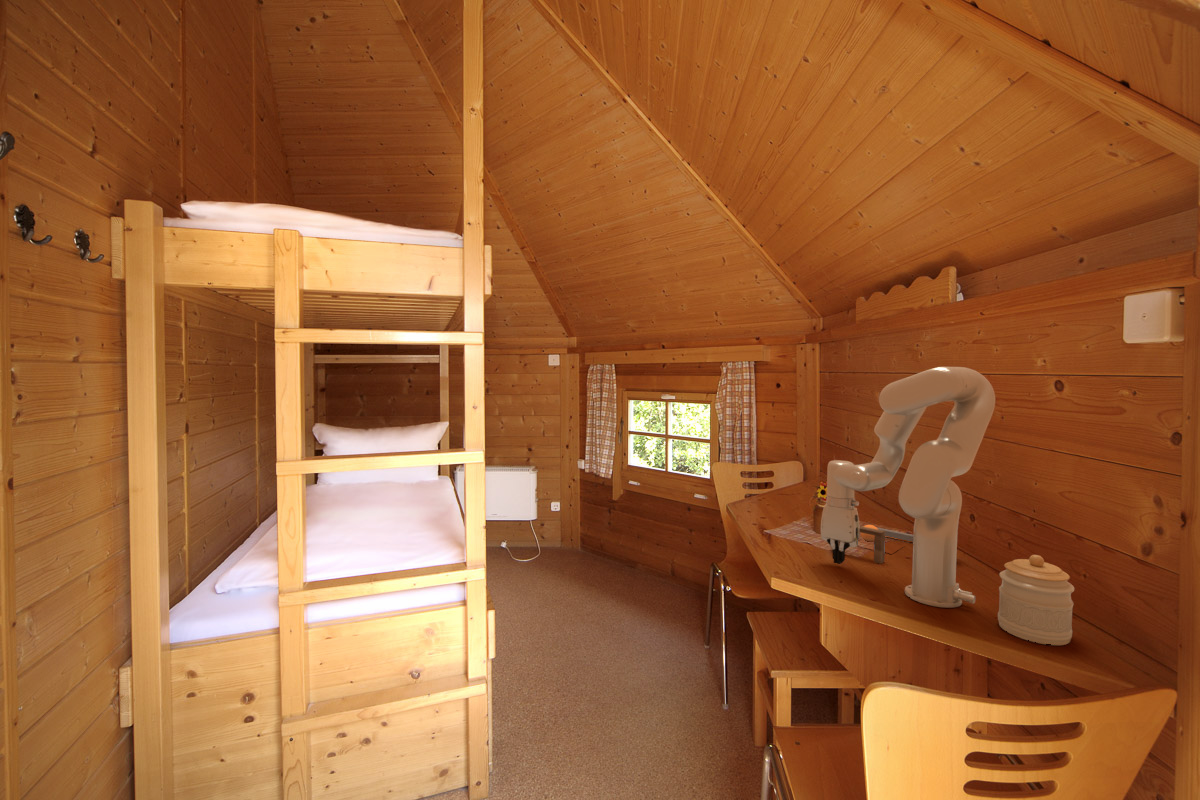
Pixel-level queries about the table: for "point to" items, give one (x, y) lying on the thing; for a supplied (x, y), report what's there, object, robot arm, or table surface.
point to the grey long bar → (897, 534)
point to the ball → (867, 536)
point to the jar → (1036, 601)
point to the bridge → (876, 543)
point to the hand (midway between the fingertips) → (838, 562)
